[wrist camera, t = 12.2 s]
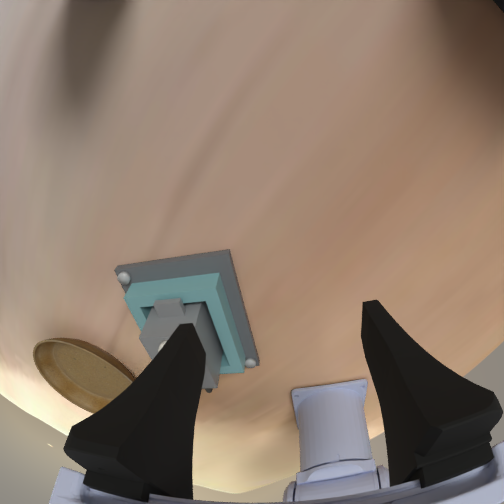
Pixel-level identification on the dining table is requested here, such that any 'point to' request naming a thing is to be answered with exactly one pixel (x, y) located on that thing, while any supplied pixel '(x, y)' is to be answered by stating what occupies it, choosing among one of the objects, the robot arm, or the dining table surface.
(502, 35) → the dining table surface
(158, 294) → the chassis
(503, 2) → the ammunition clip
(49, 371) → the plant saucer
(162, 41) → the dining table surface
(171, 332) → the block
